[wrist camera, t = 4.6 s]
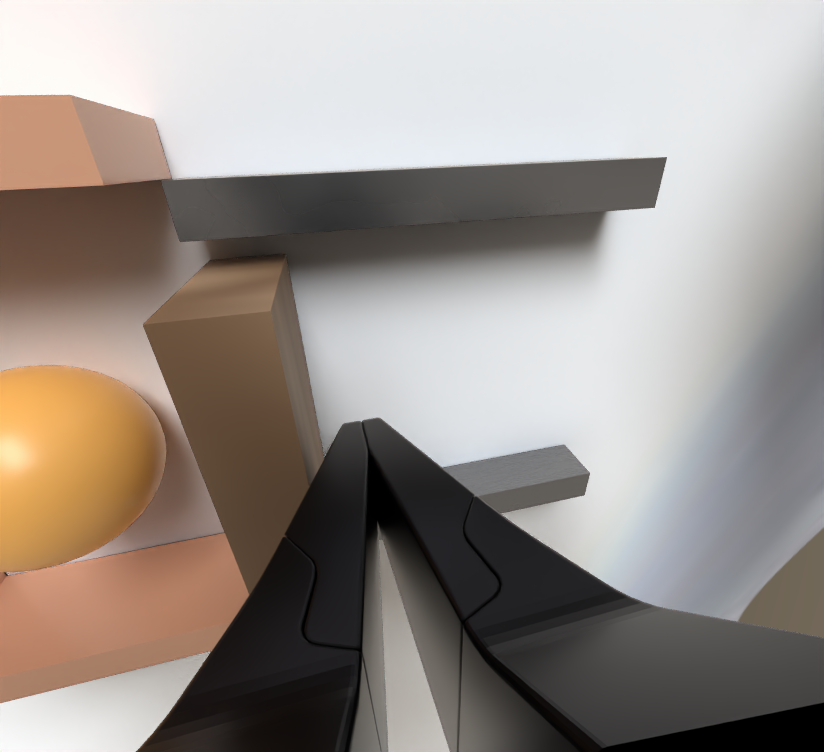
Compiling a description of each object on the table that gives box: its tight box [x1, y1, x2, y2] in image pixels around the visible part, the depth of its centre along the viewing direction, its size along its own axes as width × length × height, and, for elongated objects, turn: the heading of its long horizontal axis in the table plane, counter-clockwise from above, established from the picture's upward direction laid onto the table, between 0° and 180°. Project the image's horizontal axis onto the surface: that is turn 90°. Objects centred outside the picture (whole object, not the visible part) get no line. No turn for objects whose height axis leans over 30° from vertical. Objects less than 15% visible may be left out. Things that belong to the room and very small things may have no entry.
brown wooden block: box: [143, 254, 324, 595], centre depth 9 cm, size 2×7×4 cm, turn 2°
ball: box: [0, 365, 166, 572], centre depth 8 cm, size 4×4×4 cm
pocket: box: [0, 95, 249, 703], centre depth 8 cm, size 8×12×3 cm
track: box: [161, 157, 667, 540], centre depth 11 cm, size 10×10×2 cm
